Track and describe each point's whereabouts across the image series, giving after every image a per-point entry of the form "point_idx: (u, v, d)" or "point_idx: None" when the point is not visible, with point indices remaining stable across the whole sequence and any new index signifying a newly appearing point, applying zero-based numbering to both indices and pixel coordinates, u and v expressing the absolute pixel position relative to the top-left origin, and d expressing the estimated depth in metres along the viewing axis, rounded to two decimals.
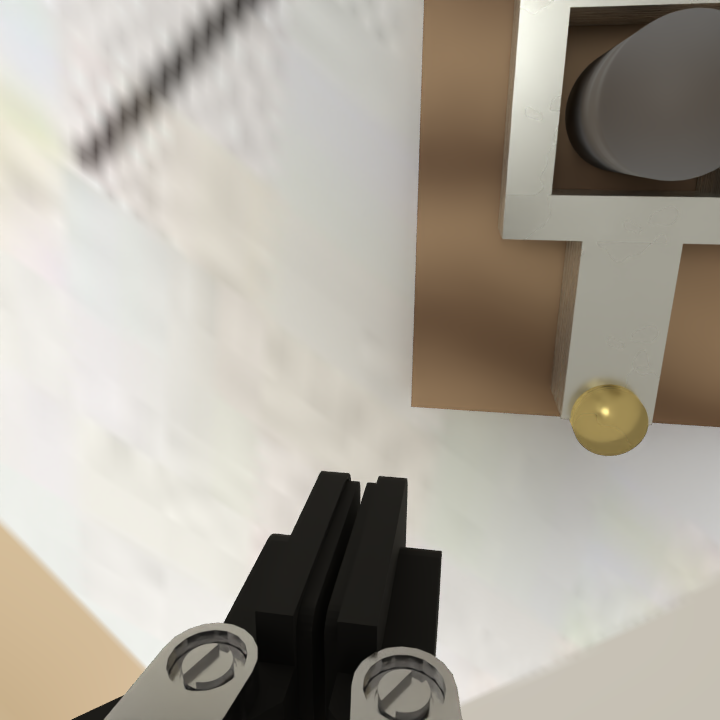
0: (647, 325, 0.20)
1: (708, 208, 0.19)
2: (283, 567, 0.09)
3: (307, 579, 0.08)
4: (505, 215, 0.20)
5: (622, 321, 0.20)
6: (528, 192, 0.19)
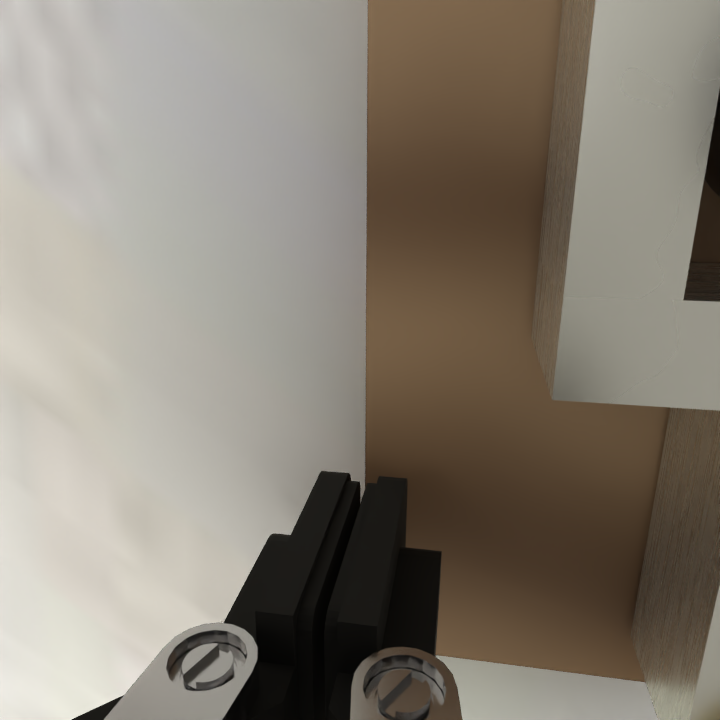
0: None
1: None
2: (283, 567, 0.09)
3: (307, 579, 0.08)
4: (561, 345, 0.08)
5: None
6: (622, 292, 0.08)
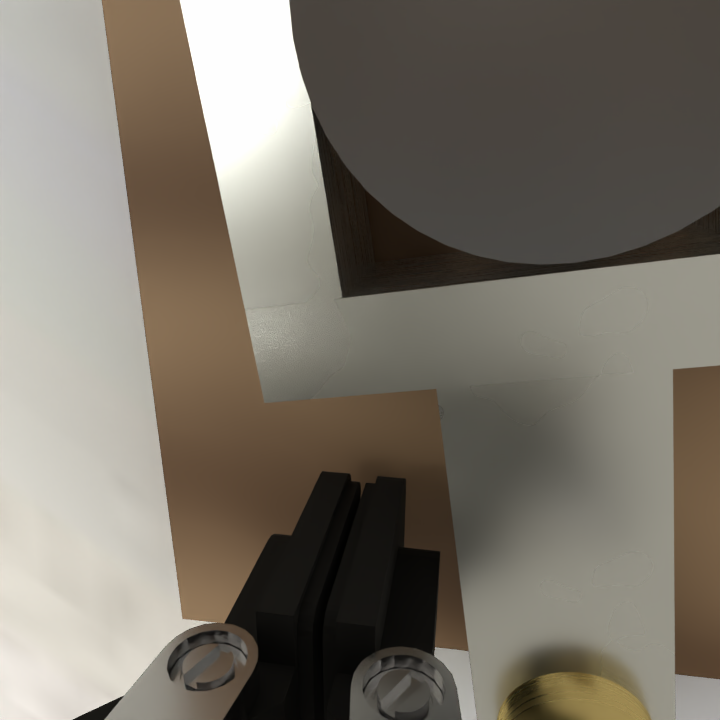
0: (623, 552, 0.09)
1: None
2: (283, 567, 0.09)
3: (307, 579, 0.08)
4: (256, 353, 0.09)
5: (564, 548, 0.09)
6: (291, 298, 0.08)
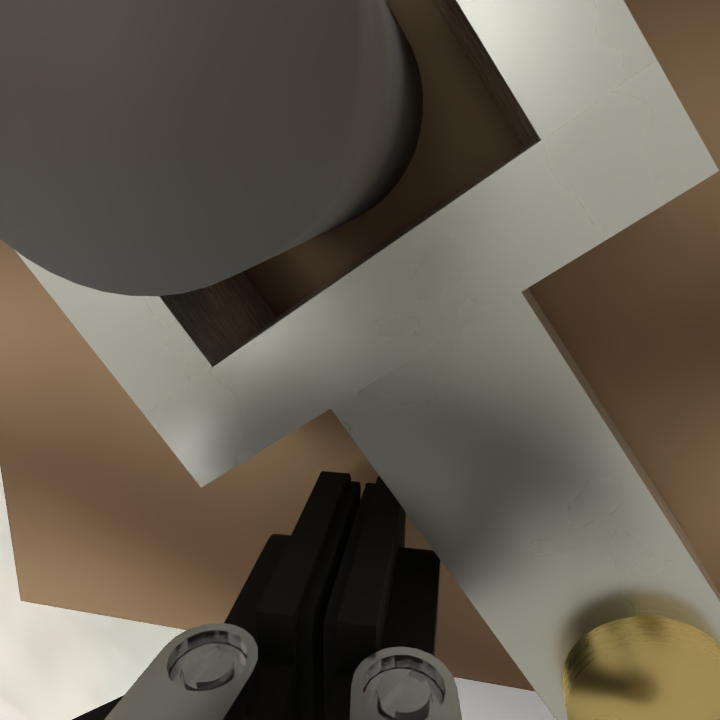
0: (583, 482, 0.08)
1: (514, 192, 0.07)
2: (283, 567, 0.09)
3: (307, 579, 0.08)
4: (172, 447, 0.09)
5: (526, 503, 0.09)
6: (174, 387, 0.09)
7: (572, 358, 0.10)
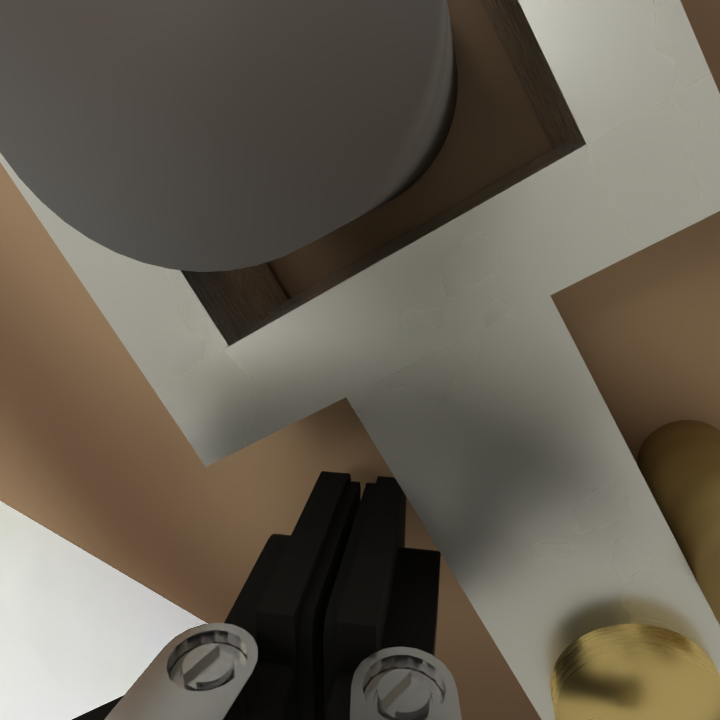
0: (592, 489, 0.08)
1: (553, 194, 0.07)
2: (283, 567, 0.09)
3: (307, 580, 0.08)
4: (179, 424, 0.09)
5: (533, 505, 0.09)
6: (187, 364, 0.09)
7: None
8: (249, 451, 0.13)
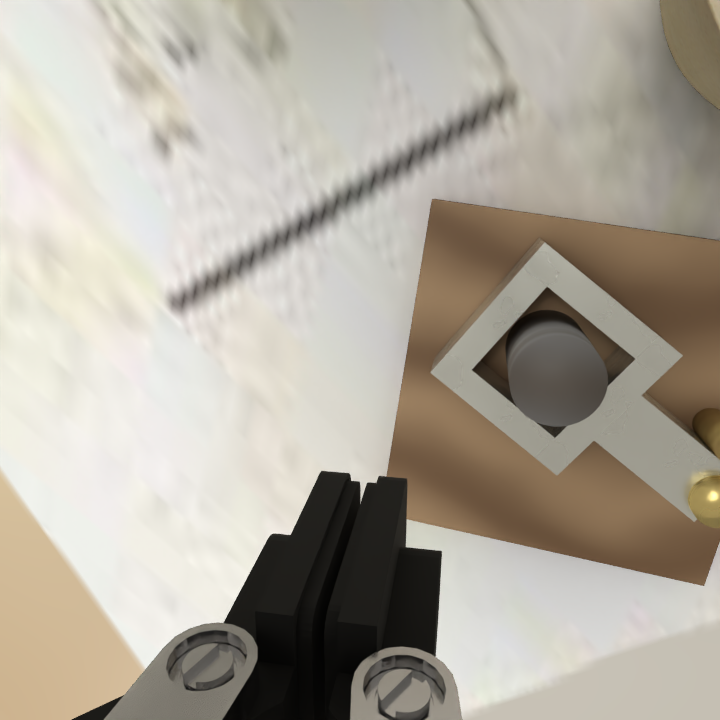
0: (675, 442, 0.29)
1: (632, 372, 0.28)
2: (283, 567, 0.09)
3: (307, 579, 0.08)
4: (545, 465, 0.30)
5: (660, 452, 0.29)
6: (543, 447, 0.30)
7: (659, 403, 0.31)
8: (549, 474, 0.34)
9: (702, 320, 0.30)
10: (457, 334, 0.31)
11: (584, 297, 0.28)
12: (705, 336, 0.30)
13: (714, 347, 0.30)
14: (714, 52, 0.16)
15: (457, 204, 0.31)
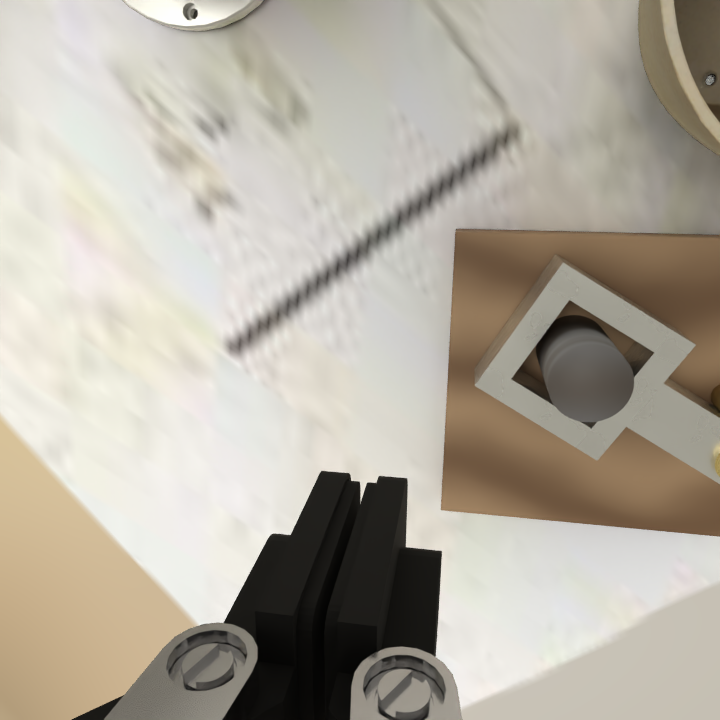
0: (697, 419, 0.33)
1: (652, 364, 0.32)
2: (283, 567, 0.09)
3: (307, 579, 0.08)
4: (586, 453, 0.34)
5: (685, 429, 0.33)
6: (582, 437, 0.34)
7: (679, 385, 0.35)
8: (588, 457, 0.38)
9: (709, 308, 0.34)
10: (492, 347, 0.35)
11: (603, 305, 0.32)
12: (713, 321, 0.34)
13: None
14: (696, 126, 0.20)
15: (478, 233, 0.35)
